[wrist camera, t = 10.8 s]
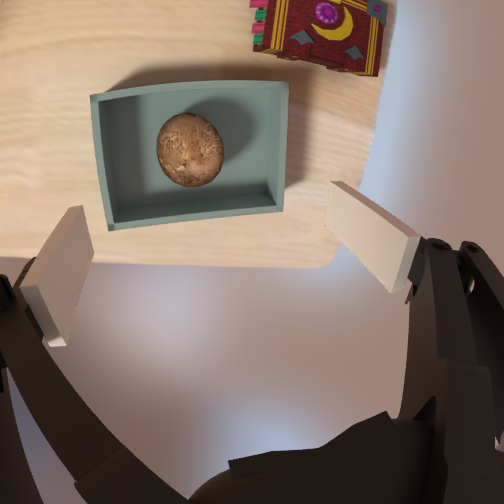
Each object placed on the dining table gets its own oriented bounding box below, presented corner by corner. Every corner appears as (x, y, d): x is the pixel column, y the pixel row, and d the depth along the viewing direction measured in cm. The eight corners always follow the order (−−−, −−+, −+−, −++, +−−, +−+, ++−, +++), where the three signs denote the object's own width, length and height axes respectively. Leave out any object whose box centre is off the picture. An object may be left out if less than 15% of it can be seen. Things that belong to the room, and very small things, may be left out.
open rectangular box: (115, 213, 33) (108, 231, 29) (101, 94, 26) (90, 95, 22) (269, 196, 38) (283, 211, 34) (273, 82, 30) (288, 82, 26)
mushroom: (250, 128, 29) (223, 146, 24) (223, 184, 34) (196, 210, 30) (189, 95, 29) (153, 107, 24) (170, 151, 34) (137, 172, 30)
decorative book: (359, 78, 32) (382, 79, 28) (240, 52, 28) (251, 46, 24) (367, 7, 27) (389, 2, 23) (251, -27, 22) (264, -42, 18)
